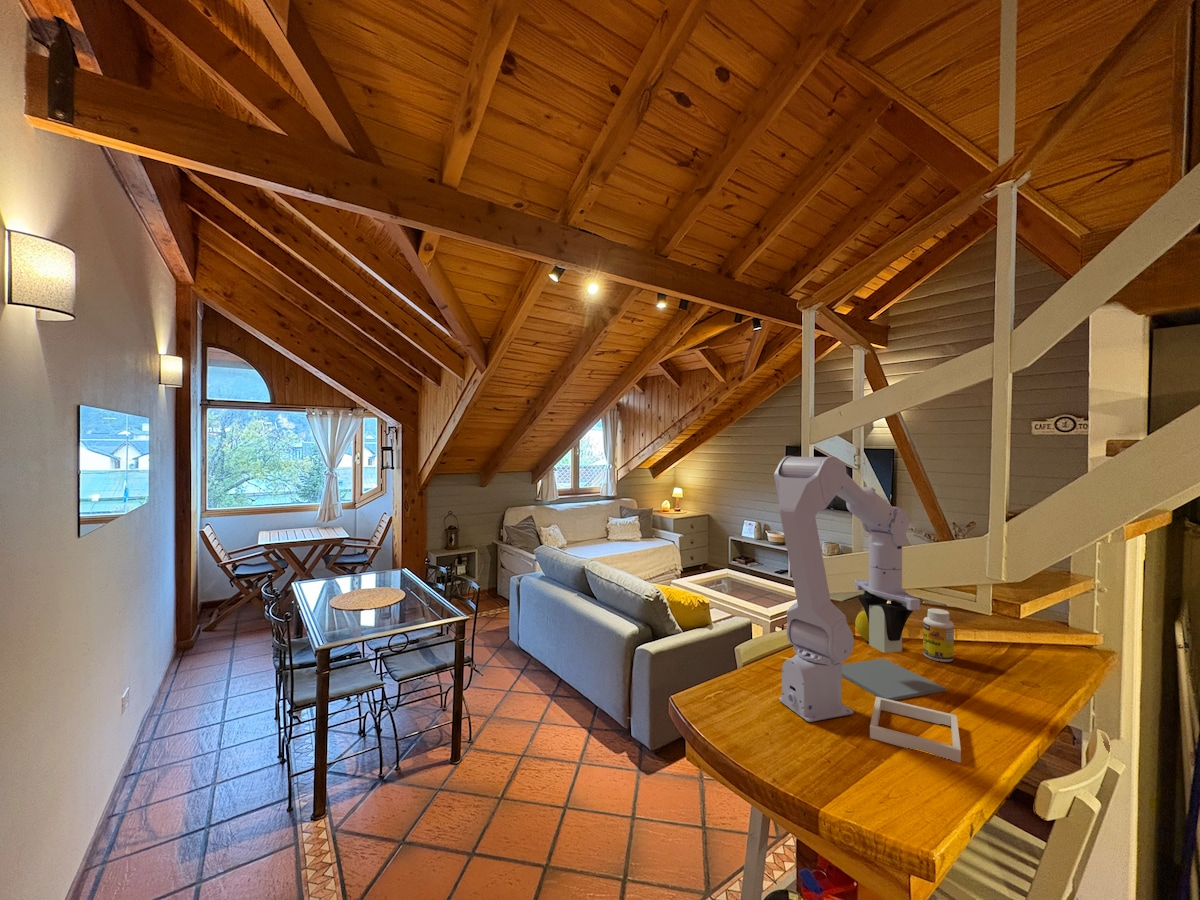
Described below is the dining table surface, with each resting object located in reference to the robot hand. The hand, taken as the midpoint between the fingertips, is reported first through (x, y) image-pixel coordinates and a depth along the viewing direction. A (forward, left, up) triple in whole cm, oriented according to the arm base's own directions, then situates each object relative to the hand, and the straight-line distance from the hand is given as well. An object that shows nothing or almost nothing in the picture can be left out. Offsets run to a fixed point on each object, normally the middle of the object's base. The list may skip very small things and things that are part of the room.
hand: (885, 635), depth 99 cm
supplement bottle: (+20, +5, -9) cm, 22 cm away
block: (0, 0, -2) cm, 2 cm away
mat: (0, 0, -9) cm, 9 cm away
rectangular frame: (-11, -16, -9) cm, 21 cm away
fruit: (+13, +17, -9) cm, 23 cm away
